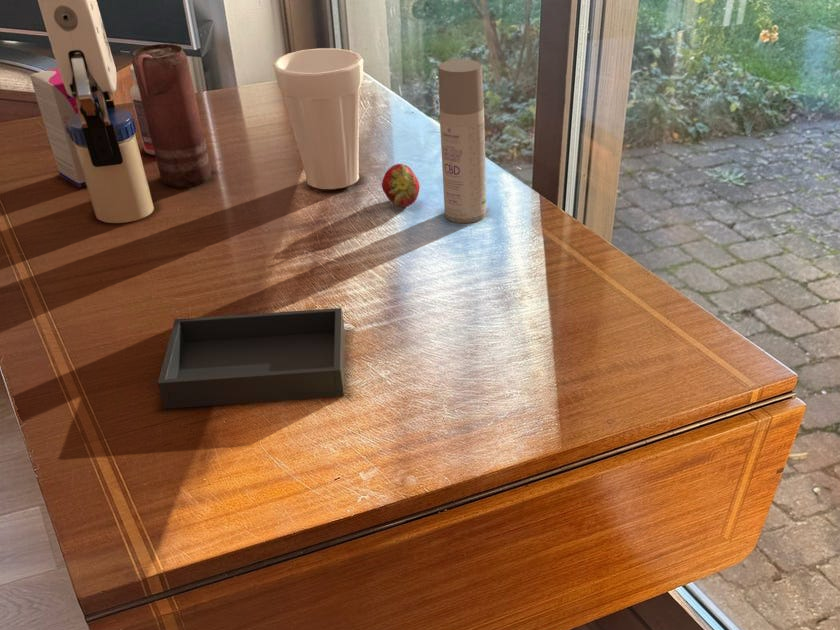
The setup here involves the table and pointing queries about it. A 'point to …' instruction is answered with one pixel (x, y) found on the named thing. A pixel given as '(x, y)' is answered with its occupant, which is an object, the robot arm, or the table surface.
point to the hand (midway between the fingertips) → (108, 151)
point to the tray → (254, 358)
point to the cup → (324, 112)
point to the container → (462, 140)
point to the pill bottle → (140, 115)
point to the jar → (117, 185)
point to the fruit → (401, 185)
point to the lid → (116, 116)
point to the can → (172, 114)
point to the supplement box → (58, 122)
